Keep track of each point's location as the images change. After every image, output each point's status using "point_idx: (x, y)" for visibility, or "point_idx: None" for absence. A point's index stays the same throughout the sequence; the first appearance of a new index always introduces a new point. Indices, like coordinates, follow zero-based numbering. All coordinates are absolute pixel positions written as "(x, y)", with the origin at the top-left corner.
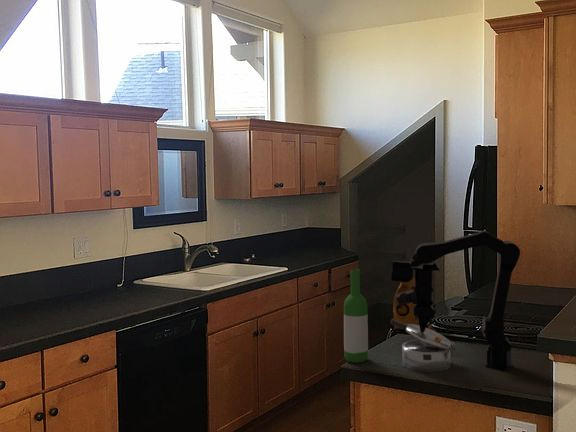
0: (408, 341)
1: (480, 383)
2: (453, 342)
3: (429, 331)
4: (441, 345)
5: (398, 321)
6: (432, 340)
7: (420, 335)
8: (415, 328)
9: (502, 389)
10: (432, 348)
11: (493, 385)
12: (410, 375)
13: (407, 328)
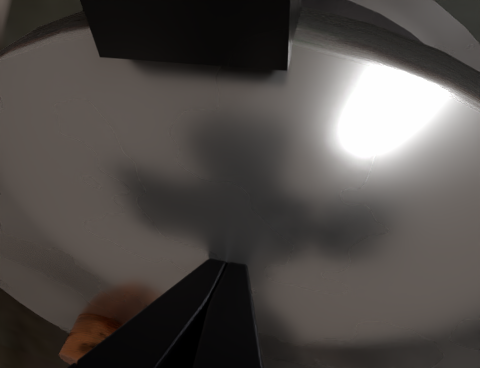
0: (460, 49)
1: (43, 321)
2: None
3: (410, 359)
4: (67, 326)
5: None
6: (64, 299)
7: (10, 222)
8: (292, 221)
9: (8, 362)
10: None
11: (37, 351)
12: (48, 16)
13: (9, 59)
